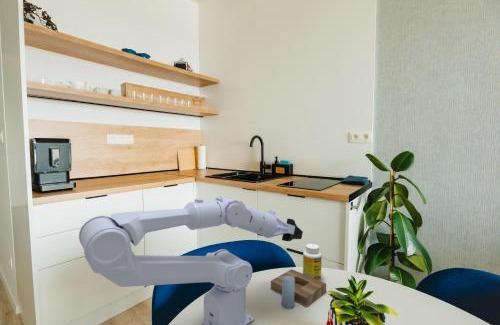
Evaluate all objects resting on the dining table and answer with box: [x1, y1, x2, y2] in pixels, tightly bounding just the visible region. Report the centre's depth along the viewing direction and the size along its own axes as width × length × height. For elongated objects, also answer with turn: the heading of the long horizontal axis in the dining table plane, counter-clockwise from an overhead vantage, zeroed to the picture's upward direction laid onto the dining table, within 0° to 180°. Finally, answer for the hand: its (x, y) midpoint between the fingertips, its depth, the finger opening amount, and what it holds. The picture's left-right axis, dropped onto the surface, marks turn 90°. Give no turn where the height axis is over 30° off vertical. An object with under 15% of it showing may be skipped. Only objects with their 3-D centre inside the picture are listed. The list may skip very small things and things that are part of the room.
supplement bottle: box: [302, 243, 323, 281], centre depth 80 cm, size 6×6×10 cm
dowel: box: [281, 276, 295, 310], centre depth 66 cm, size 3×3×7 cm
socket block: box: [270, 269, 327, 308], centre depth 73 cm, size 10×12×2 cm
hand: (290, 233), depth 72 cm, fingers open, 7 cm apart
